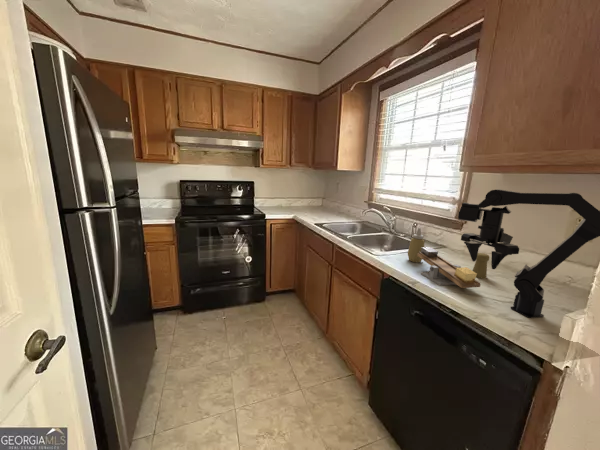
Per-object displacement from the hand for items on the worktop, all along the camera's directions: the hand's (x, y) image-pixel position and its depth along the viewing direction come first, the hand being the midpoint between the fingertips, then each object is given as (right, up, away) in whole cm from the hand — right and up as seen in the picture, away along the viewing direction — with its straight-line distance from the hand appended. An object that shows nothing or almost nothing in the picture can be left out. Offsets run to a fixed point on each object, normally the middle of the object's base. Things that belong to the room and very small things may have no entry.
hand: (483, 265), depth 95 cm
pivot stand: (-4, -9, +19) cm, 21 cm away
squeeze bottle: (-7, -4, +41) cm, 42 cm away
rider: (-2, -7, +8) cm, 11 cm away
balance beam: (-4, -4, +18) cm, 19 cm away
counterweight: (-6, 0, +28) cm, 29 cm away
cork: (+15, -9, +24) cm, 30 cm away
